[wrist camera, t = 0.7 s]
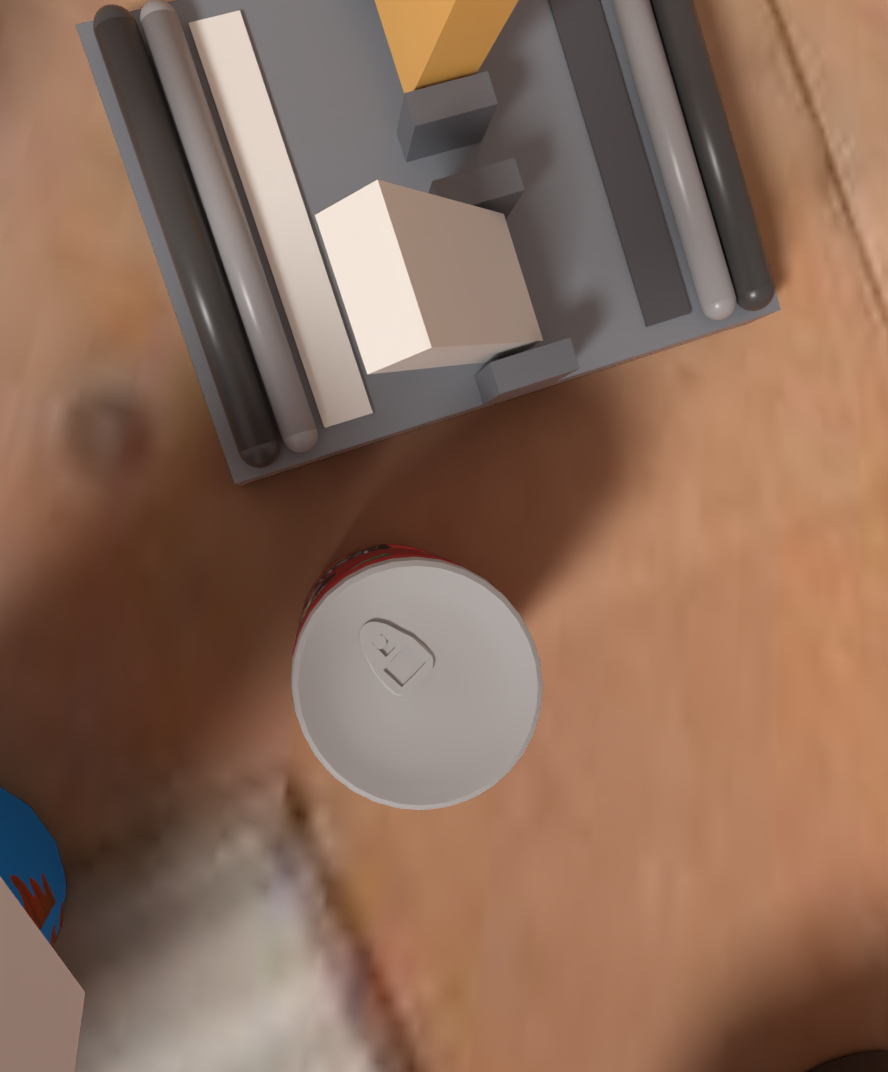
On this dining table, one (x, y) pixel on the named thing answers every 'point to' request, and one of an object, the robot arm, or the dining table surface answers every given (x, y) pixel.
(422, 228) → the block
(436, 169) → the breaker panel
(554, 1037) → the dining table surface
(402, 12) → the block
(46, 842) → the thermos
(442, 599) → the canned food
